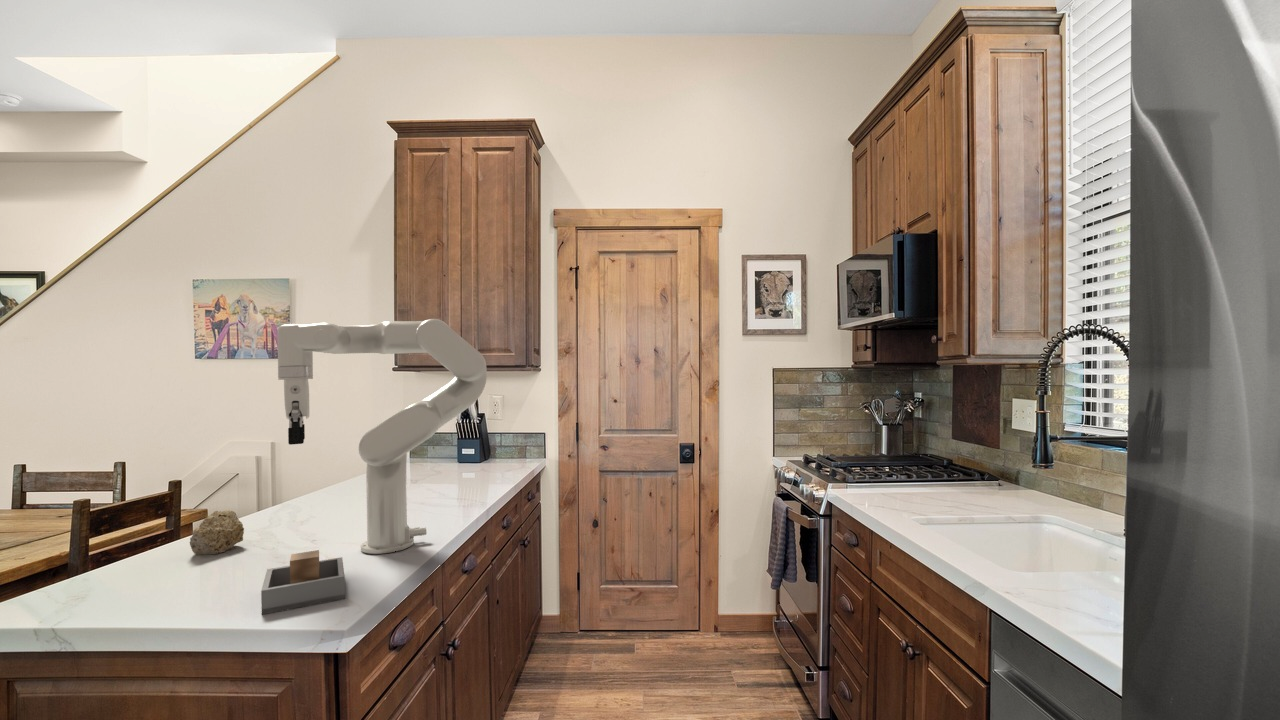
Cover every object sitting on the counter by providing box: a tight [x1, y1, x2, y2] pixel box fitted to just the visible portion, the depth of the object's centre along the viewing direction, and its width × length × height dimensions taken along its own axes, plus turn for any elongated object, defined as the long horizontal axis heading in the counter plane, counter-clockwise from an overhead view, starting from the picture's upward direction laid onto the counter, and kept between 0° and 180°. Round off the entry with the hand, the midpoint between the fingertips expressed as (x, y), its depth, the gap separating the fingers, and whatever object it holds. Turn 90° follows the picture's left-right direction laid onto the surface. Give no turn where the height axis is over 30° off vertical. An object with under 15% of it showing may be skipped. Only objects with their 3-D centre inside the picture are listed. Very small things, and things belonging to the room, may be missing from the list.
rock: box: [189, 510, 245, 556], centre depth 150 cm, size 11×12×10 cm
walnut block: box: [289, 549, 320, 584], centre depth 119 cm, size 5×5×7 cm
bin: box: [260, 556, 346, 616], centre depth 119 cm, size 14×14×4 cm
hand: (296, 442), depth 145 cm, fingers open, 9 cm apart
